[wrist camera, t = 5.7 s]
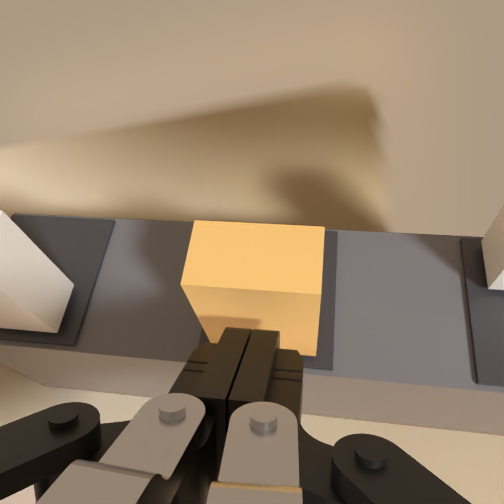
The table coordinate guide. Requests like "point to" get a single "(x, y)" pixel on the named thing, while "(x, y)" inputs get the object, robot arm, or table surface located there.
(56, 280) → the switch left
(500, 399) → the power strip
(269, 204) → the table surface
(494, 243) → the switch right
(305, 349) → the switch middle
